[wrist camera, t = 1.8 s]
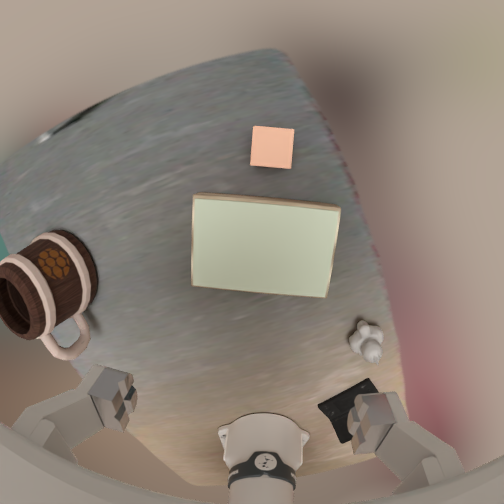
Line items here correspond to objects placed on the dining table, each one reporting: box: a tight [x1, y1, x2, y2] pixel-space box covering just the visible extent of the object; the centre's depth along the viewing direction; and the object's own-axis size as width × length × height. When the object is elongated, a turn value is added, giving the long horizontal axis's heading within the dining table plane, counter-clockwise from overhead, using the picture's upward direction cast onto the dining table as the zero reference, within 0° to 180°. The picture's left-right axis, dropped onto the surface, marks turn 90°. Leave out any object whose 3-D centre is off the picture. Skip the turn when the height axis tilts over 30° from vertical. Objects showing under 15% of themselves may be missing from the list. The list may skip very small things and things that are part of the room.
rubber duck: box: [349, 320, 384, 365], centre depth 39 cm, size 5×7×8 cm
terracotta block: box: [250, 126, 294, 169], centre depth 31 cm, size 4×4×9 cm
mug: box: [0, 230, 97, 360], centre depth 36 cm, size 20×15×15 cm
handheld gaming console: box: [318, 378, 379, 444], centre depth 45 cm, size 12×7×10 cm
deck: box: [191, 192, 341, 298], centre depth 37 cm, size 12×18×4 cm, turn 86°
